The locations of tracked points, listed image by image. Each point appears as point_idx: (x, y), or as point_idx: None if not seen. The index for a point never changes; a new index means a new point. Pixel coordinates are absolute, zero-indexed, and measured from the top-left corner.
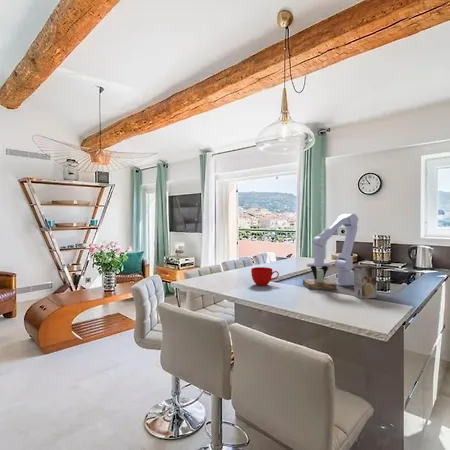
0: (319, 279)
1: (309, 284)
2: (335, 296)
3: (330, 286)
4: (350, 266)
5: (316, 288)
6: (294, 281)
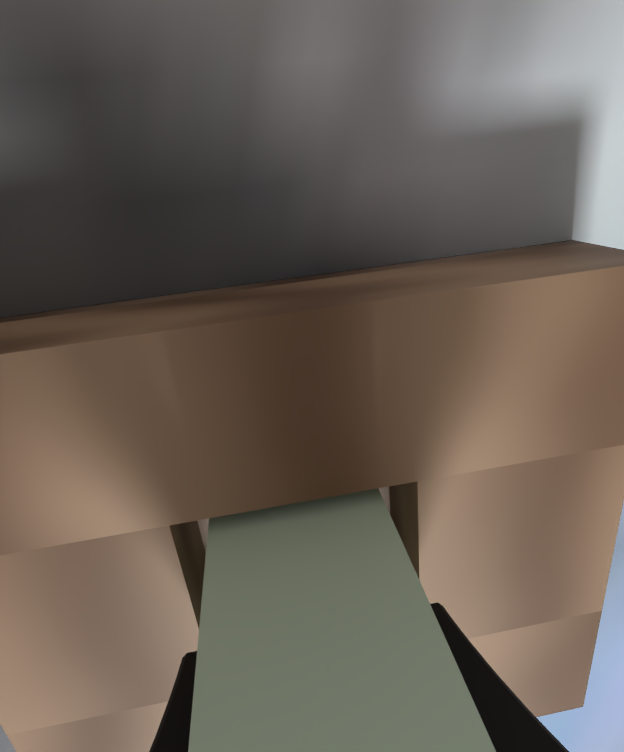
0: (333, 578)
1: None
2: None
3: (40, 331)
4: None
5: (414, 265)
6: (586, 737)
